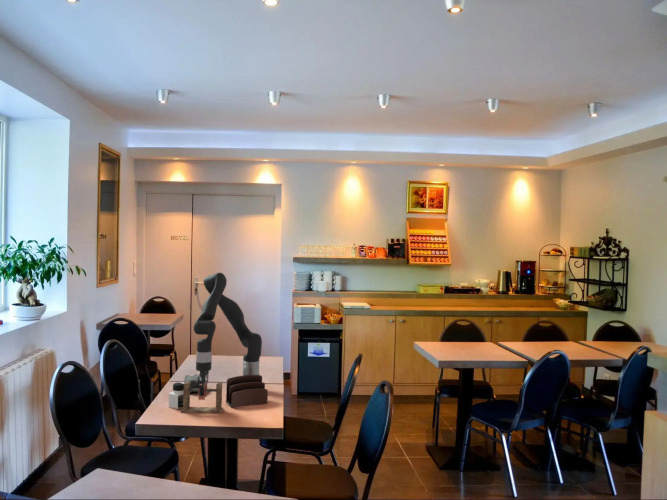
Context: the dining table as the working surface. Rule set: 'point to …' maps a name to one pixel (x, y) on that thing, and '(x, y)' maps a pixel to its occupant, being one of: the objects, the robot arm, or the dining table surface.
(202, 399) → the pink u-shaped bracket
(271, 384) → the dining table surface
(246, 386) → the letter holder
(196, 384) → the rock
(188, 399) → the rail stand
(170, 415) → the dining table surface
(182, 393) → the medicine bottle
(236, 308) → the robot arm
